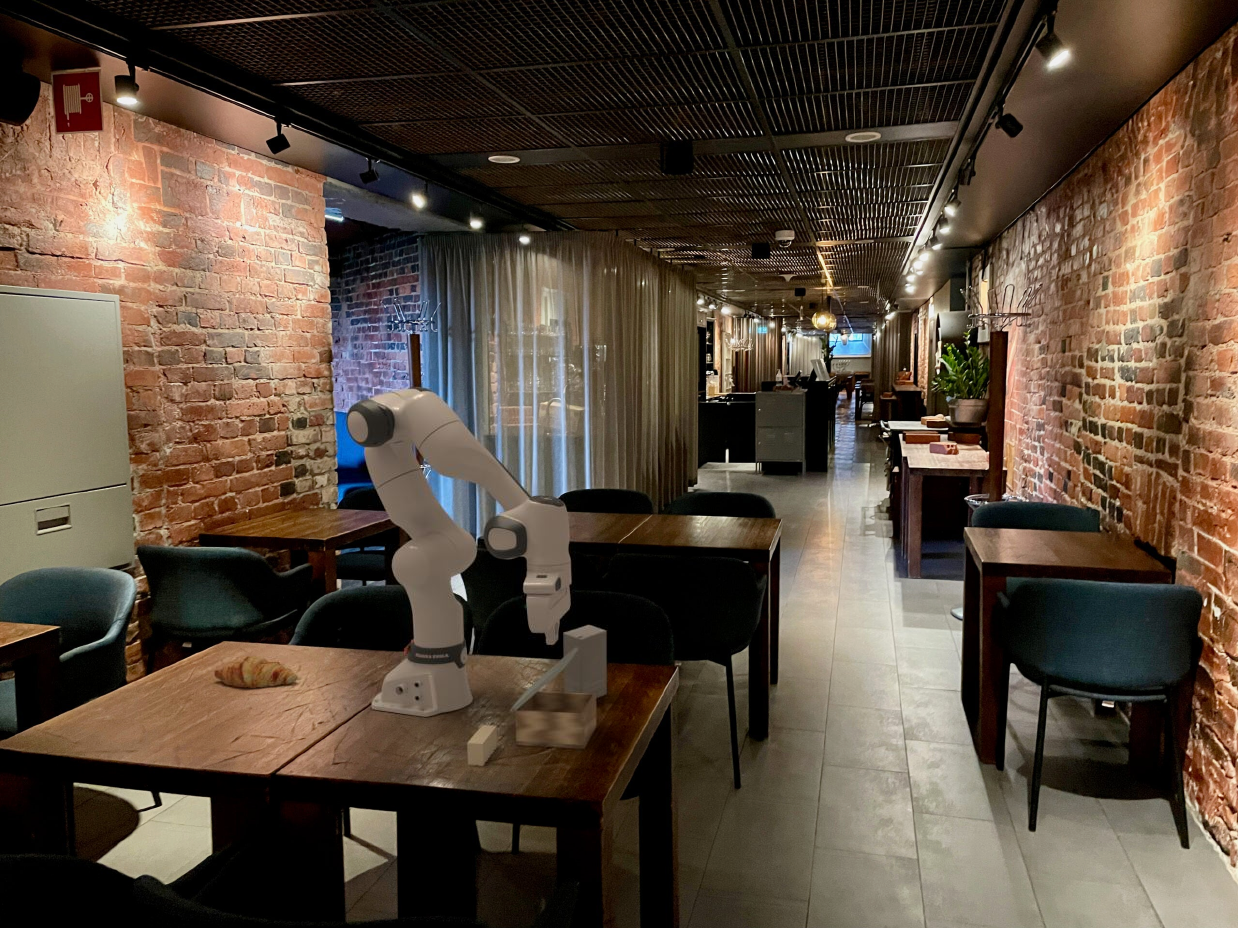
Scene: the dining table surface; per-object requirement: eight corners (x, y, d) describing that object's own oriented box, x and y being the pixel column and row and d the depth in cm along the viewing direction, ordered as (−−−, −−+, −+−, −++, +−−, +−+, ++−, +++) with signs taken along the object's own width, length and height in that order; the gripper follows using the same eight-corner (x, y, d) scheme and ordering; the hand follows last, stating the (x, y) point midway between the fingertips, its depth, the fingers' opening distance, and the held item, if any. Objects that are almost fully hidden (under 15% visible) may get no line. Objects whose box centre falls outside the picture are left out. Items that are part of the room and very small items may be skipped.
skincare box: (588, 688, 217) (587, 623, 215) (609, 696, 212) (608, 628, 210) (561, 697, 211) (560, 630, 209) (582, 705, 206) (581, 636, 204)
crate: (516, 744, 184) (515, 710, 184) (532, 722, 196) (531, 690, 195) (584, 748, 182) (583, 714, 181) (596, 726, 194) (596, 693, 193)
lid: (511, 713, 184) (508, 710, 184) (528, 693, 196) (525, 690, 196) (565, 667, 181) (562, 663, 181) (578, 649, 193) (575, 646, 193)
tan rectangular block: (467, 765, 175) (467, 742, 175) (482, 746, 184) (482, 725, 184) (483, 766, 175) (482, 743, 174) (497, 747, 184) (496, 725, 183)
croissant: (303, 694, 226) (309, 661, 229) (286, 687, 217) (292, 653, 220) (220, 690, 228) (227, 658, 231) (200, 684, 219) (208, 650, 222)
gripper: (547, 565, 197) (550, 628, 198) (520, 586, 177) (523, 657, 178) (576, 565, 196) (578, 629, 197) (552, 587, 176) (555, 657, 177)
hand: (552, 642), depth 187 cm, fingers closed
